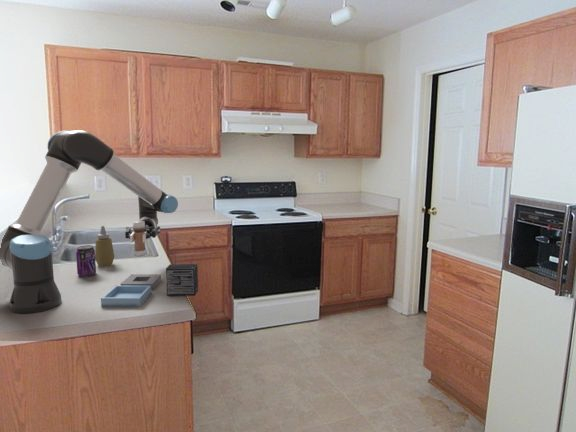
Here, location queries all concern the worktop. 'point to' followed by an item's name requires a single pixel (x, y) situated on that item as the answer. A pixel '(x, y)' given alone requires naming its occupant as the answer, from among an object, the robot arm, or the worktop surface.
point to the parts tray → (126, 296)
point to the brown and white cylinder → (139, 238)
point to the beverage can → (85, 260)
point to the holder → (142, 280)
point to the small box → (182, 279)
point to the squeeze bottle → (104, 249)
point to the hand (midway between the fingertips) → (137, 238)
